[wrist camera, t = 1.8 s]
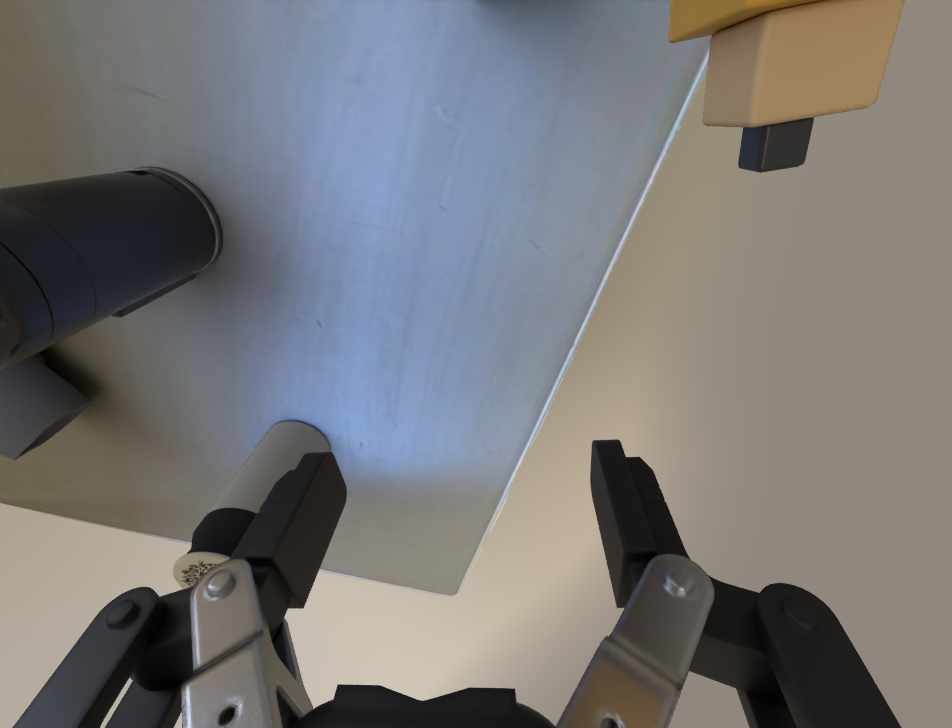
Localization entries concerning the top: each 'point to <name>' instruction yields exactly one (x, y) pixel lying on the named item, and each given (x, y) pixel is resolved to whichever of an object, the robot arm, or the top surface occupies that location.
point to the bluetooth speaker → (34, 406)
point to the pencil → (786, 66)
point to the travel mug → (246, 497)
